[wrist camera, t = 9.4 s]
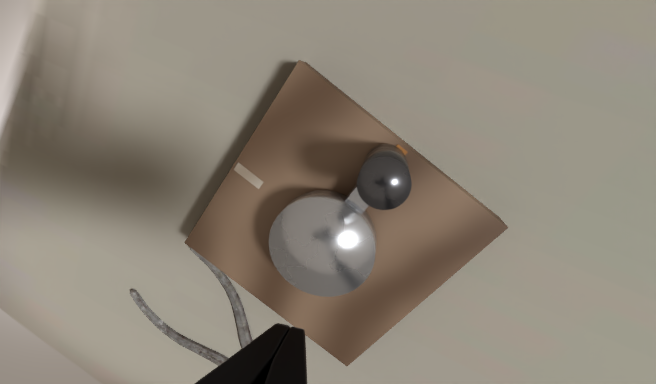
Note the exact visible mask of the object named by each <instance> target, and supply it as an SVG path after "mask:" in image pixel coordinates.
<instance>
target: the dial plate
mask: <svg viewBox="0 0 656 384" xmlns="http://www.w3.org/2000/svg"><path fill="white" fill-rule="evenodd" d="M380 144H391V145H394V146H396V147H398V148H399V149H401V150H402V151H403V153H404V154H405V156H406V159H407V163H408V168H409V172H410V176H411V182H412V186H411V191H410V194H409V196H408V198H407V199H406V200H405V202H404V203H402V204H401V205H400V206H398V207H396V208H394V209H390V210H379V209H375V208H372V207H370V206H368V207H367V208H366V210H365V211H366V212H367V213H368V215H369V216H370V218H371V220H372V222H373V224H374V227H375V231H376V239H377V242H376V253H375V261H374V266H373V268H372V271H371V273H370V275H369V276H368V278H367V279H366V280H365V281H364V283H362V284H361V285H360V286H359V287H358V288H356V289H355V290H353V291H351V292H349V293H346V294H343V295H339V296H333V297H322V296H316V295H312V294H309V293H306V292H303V291H301V290H299V289H297V288H296V287H294V286H293V285H291V284H290V283H289V282H288V281H286V280H285V279H284V277H283V276H282V275H281V274H280V273H279V271H278V270H277V268H276V267H275V265H274V263H273V261H272V258H271V255H270V251H269V234H270V230H271V227H272V225H273V222H274V221H275V219H276V218H277V216H278V215H279V214H280V213H281V212H282V211H283V210H284V208H285V207H286V206H287V205H288V204H289V203H290V202H291V201H292V200H294V199H295V198H297V197H298V196H300V195H302V194H304V193H307V192H310V191H316V190H328V191H334V192H338V193H341V194H344V195H346V196H348V194H349V193H350V192H351V191H352V189H353V188H354V187H355V186H356V184H357V178H358V175H359V172H360V170H361V167H362V165H363V162H364V160H365V157H366V155H367V154H368V152H369V151H370V150H371V149H372V148H374V147H375V146H377V145H380ZM507 228H508V227H507V226H506V225H505V223H504V222H503V221H502V220H501V219H500V218H499V217H498V216H497V215H496V214H494V213H493V212H492V211H491V210H489V209H488V208H487V207H486V206H484V205H483V204H482V203H481V202H479V201H478V200H477V199H476V198H474V197H473V196H472V195H471V194H469V193H468V192H467V191H466V190H464V189H463V188H462V187H461V186H459V185H458V184H457V183H456V182H454V181H453V180H452V179H451V178H450V177H448V176H447V175H446V174H445V173H443V172H442V171H441V170H440V169H438V168H437V167H436V166H435V165H433V164H432V163H431V162H430V161H428V160H427V159H426V158H425V157H423V156H422V155H421V154H420V153H418V152H417V151H416V150H415V149H413V148H412V147H411V146H410V145H408V144H407V143H406V142H405V141H403V140H402V139H401V138H400V137H398V136H397V135H396V134H395V133H393V132H392V131H391V130H390V129H388V128H387V127H386V126H385V125H383V124H382V123H381V122H380V121H378V120H377V119H376V118H375V117H373V116H372V115H371V114H370V113H368V112H367V111H366V110H365V109H363V108H362V107H361V106H360V105H358V104H357V103H356V102H355V101H353V100H352V99H351V98H350V97H348V96H347V95H346V94H345V93H343V92H342V91H341V90H340V89H338V88H337V87H336V86H335V85H333V84H332V83H331V82H330V81H328V80H327V79H326V78H325V77H323V76H322V75H321V74H320V73H318V72H317V71H316V70H315V69H313V68H312V67H311V66H310V65H309V64H307V63H306V62H303V61H300V60H299V61H298V63H297V64H296V66H295V68H294V69H293V71H292V72H291V74H290V75H289V77H288V79H287V80H286V82H285V83H284V85H283V87H282V88H281V90H280V91H279V93H278V95H277V96H276V98H275V99H274V101H273V103H272V104H271V106H270V107H269V109H268V110H267V112H266V114H265V115H264V117H263V118H262V120H261V122H260V123H259V125H258V126H257V128H256V130H255V131H254V133H253V134H252V136H251V138H250V139H249V141H248V142H247V144H246V145H245V147H244V149H243V150H242V152H241V153H240V155H239V157H238V158H237V160H236V161H235V163H234V165H233V166H232V168H231V169H230V171H229V173H228V174H227V176H226V177H225V179H224V180H223V182H222V184H221V185H220V187H219V188H218V190H217V192H216V193H215V195H214V196H213V198H212V200H211V201H210V203H209V204H208V206H207V208H206V209H205V211H204V212H203V214H202V215H201V217H200V219H199V220H198V222H197V223H196V225H195V227H194V228H193V230H192V231H191V233H190V235H189V236H188V238H187V239H186V241H185V244H187V245H188V246H189V247H191V248H192V249H193V250H195V251H196V252H197V253H198V254H200V255H201V256H202V257H204V258H205V259H206V260H208V261H209V262H210V263H212V264H213V265H214V266H216V267H217V268H218V269H220V270H221V271H222V272H223V273H225V274H226V275H227V276H229V277H230V278H231V279H233V280H234V281H235V282H237V283H238V284H239V285H241V286H242V287H243V288H245V289H246V290H247V291H248V292H250V293H251V294H252V295H254V296H255V297H256V298H258V299H259V300H260V301H262V302H263V303H264V304H266V305H267V306H268V307H270V308H271V309H272V310H273V311H275V312H276V313H277V314H279V315H280V316H281V317H283V318H284V319H285V320H287V321H288V322H289V323H291V324H292V325H293V326H295V327H297V328H301V329H304V330H305V335H306V336H308V337H309V338H310V339H312V340H313V341H314V342H316V343H317V344H318V345H320V346H321V347H322V348H324V349H325V350H326V351H327V352H329V353H330V354H331V355H333V356H334V357H335V358H337V359H338V360H339V361H341V362H342V363H343V364H345V365H346V366H348V365H349V364H350V363H351V362H353V361H354V360H355V359H356V358H357V357H358V356H360V355H361V354H362V353H363V352H364V351H365V350H367V349H368V348H369V347H370V346H371V345H372V344H374V343H375V342H376V341H377V340H378V339H379V338H380V337H382V336H383V335H384V334H385V333H386V332H387V331H389V330H390V329H391V328H392V327H393V326H394V325H396V324H397V323H398V322H399V321H400V320H401V319H403V318H404V317H405V316H406V315H407V314H408V313H410V312H411V311H412V310H413V309H414V308H415V307H416V306H418V305H419V304H420V303H421V302H422V301H423V300H425V299H426V298H427V297H428V296H429V295H430V294H432V293H433V292H434V291H435V290H436V289H437V288H439V287H440V286H441V285H442V284H443V283H444V282H446V281H447V280H448V279H449V278H450V277H451V276H453V275H454V274H455V273H456V272H457V271H458V270H459V269H461V268H462V267H463V266H464V265H465V264H466V263H468V262H469V261H470V260H471V259H472V258H473V257H475V256H476V255H477V254H478V253H479V252H480V251H482V250H483V249H484V248H485V247H486V246H487V245H489V244H490V243H491V242H492V241H493V240H494V239H495V238H497V237H498V236H499V235H500V234H501V233H502V232H504V231H505V230H506V229H507Z"/></svg>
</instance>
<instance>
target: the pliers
mask: <svg viewBox="0 0 656 384" xmlns="http://www.w3.org/2000/svg"><path fill="white" fill-rule="evenodd" d="M190 250H191V251H192V252H193V253H194V254H195V255H196V256H198V257H199V258H200V259H201V260H202V261H203V262H204V263H205V264H206V265H207V266H208V267H209V268H210V269H211V270H212V272H213V273H214V274H215V276H216V277H217V278H218V280H219V281H220V283H221V284H222V286H223V287H224V289H225V291H226V293H227V295H228V297H229V299H230V301H231V305H232V308H233V312H234V316H235V320H236V325H237V329H238V335H239V340H240V344H241V348H244V347H245V346H246V345H248V344H249V343H250V342H252V338H251V334H250V330H249V327H248V323H247V319H246V316H245V312H244V309H243V306H242V303H241V300H240V298H239V296H238V294H237V292H236V290H235V288H234V287H233V285H232V284H231V282H230V281H229V279H228V278H227V276H226V275H225V274H224V273H223V272H222V271H221V270H220V269H218V268H217V267H216V266H214V265H213V264H212V263H210V262H209V261H208V260H206V259H205V258H204V257H202V256H201V255H200V254H198V253H197V252H196V251H195V250H193V249H192V248H191V247H190ZM130 294H131V296H132V298H133V300H134V301H135V302H136V304H137V305H138V307H139V308H140V309H141V311H142V312H143V313H144V314H145V315H146V317H147V318H148V319H149V320H150V321H151V322H152V323H153V324H154V325H155V326H156V327H157V328H158V329H160V330H161V331H162V332H163V333H164V334H165V335H167V336H168V337H169V338H171V339H172V340H173V341H175V342H177V343H178V344H180V345H182V346H183V347H185V348H187V349H189V350H191V351H193V352H195V353H197V354H198V355H200V356H202V357H204V358H206V359H208V360H210V361H211V362H213V363H215V364H217V365H218V366H219V365H221V364H222V363H223V362H225V361H226V360H227V359H229V358H227V357H225V356H224V355H222V354H220V353H218V352H216V351H214V350H212V349H209V348H207V347H205V346H203V345H201V344H199V343H197V342H195V341H193V340H191V339H188V338H186V337H185V336H183V335H181V334H179V333H177V332H176V331H175V330H173V329H172V328H170V327H169V326H168V325H166V324H165V323H164V322H163V321H162V320H161V319H160V318H159V317H158V316H157V315H155V314H154V313H153V312H152V310H151V309H150V308H149V307H148V306H147V304H146V303H145V302H144V300H143V299H142V297H141V296H140V295H139V293H138V292H137V291H136V290H135V289H132V290H131V291H130Z"/></svg>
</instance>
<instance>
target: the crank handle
mask: <svg viewBox="0 0 656 384" xmlns="http://www.w3.org/2000/svg"><path fill="white" fill-rule="evenodd" d="M411 186H412V182H411V176H410V172H409V168H408V163H407V159H406V156H405V154H404V153H403V151H402V150H401V149H399V148H398V147H396V146H394V145H391V144H380V145H377V146H375V147H374V148H372V149H371V150H370V151H369V152H368V154H367V155H366V157H365V160H364V162H363V165H362V167H361V170H360V172H359V175H358V178H357V184H356V186H355V187H354V188H353V189H352V191H351V192H350V193H349V194H348V196H346V195H344V194H341V193H338V192H334V191H328V190H316V191H310V192H307V193H304V194H302V195H300V196H298V197H297V198H295V199H294V200H292V201H291V202H290V203H289V204H288V205H287V206H286V207H285V208H284V210H283V211H282V212H281V213H280V214H279V215H278V216H277V218H276V219H275V221H274V222H273V225H272V227H271V230H270V234H269V251H270V255H271V258H272V261H273V263H274V265H275V267H276V268H277V270H278V271H279V273H280V274H281V275H282V276H283V277H284V279H285V280H286V281H288V282H289V283H290V284H291V285H293V286H294V287H296V288H297V289H299V290H301V291H303V292H306V293H309V294H312V295H316V296H322V297H333V296H339V295H343V294H346V293H349V292H351V291H353V290H355V289H356V288H358V287H359V286H360V285H361V284H362V283H364V281H365V280H366V279H367V278H368V276H369V275H370V273H371V271H372V268H373V266H374V261H375V253H376V242H377V239H376V231H375V227H374V224H373V222H372V220H371V218H370V216H369V215H368V213H367V212H366V211H365V210H366V208H367V207H368V206H370V207H372V208H375V209H379V210H390V209H394V208H396V207H398V206H400V205H401V204H402V203H404V202H405V200H406V199H407V198H408V196H409V194H410V191H411Z"/></svg>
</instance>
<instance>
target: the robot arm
mask: <svg viewBox="0 0 656 384" xmlns="http://www.w3.org/2000/svg"><path fill="white" fill-rule="evenodd" d="M195 384H307V368H306V345H305V330H304V329H301V328H297V327H291V328H290V327H289V326H288V325H284V324H279V323H277V324H275V325H273V326H272V327H271V328H269V329H268V330H267V331H265V332H264V333H263V334H261V335H260V336H259V337H257V338H256V339H255V340H253V341H252V342H250V343H249V344H248V345H246V346H245V347H244V348H242V349H241V350H240V351H238V352H237V353H236V354H234V355H233V356H232V357H230V358H229V359H227V360H226V361H225V362H223V363H222V364H221V365H219V366H218V367H217V368H215V369H214V370H213V371H211V372H210V373H208V374H207V375H206V376H204V377H203V378H202V379H200V380H199V381H198V382H196V383H195Z"/></svg>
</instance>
